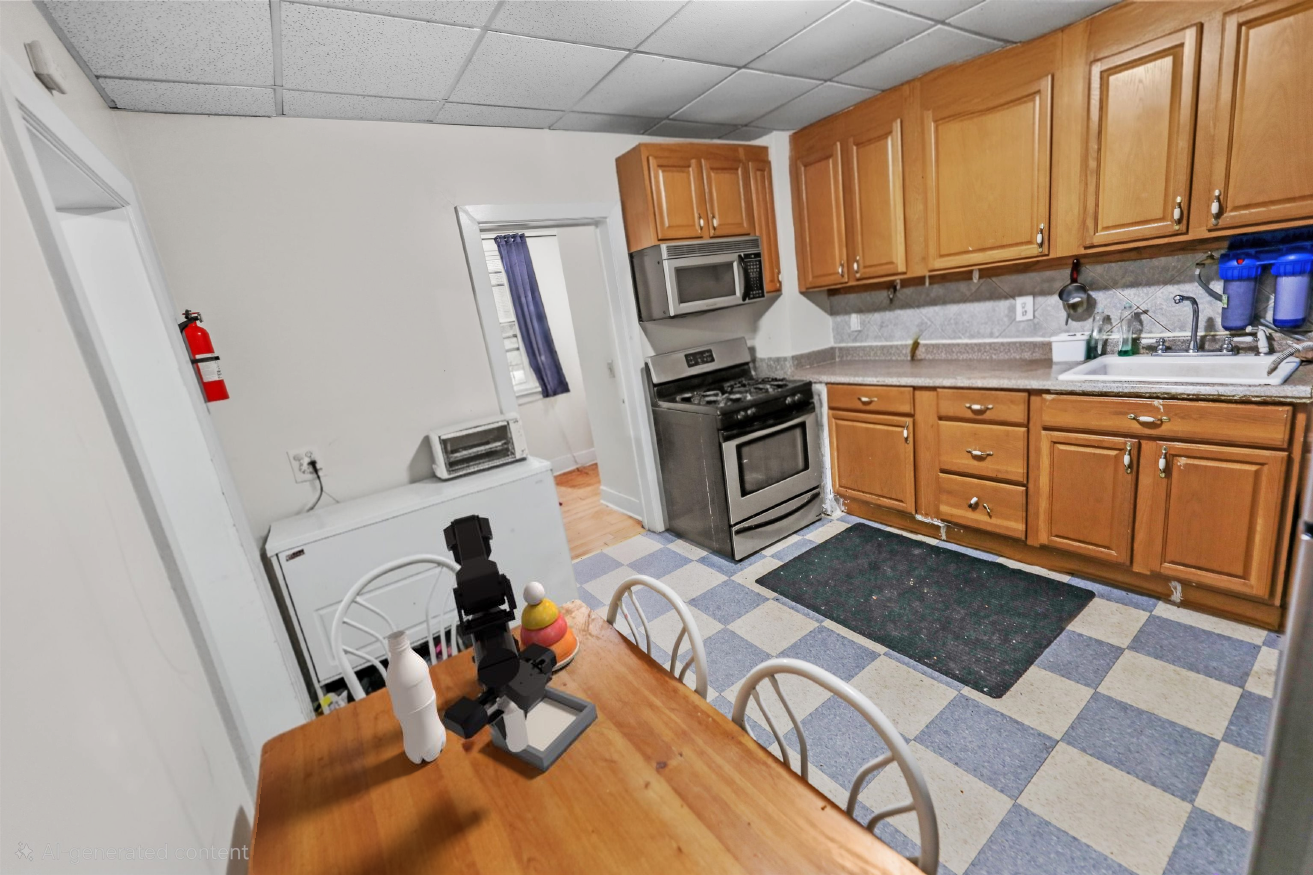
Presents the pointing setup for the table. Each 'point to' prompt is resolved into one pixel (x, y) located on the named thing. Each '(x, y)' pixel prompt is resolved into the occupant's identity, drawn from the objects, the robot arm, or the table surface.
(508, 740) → the milkshake
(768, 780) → the table surface
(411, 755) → the water bottle
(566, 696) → the gray square tray
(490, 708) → the robot arm
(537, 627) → the stacking toy
